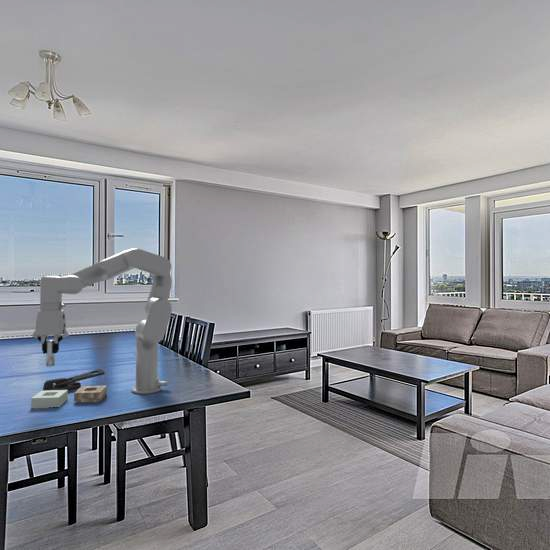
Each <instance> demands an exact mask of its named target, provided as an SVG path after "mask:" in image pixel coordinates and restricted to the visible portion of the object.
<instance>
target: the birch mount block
mask: <svg viewBox="0 0 550 550" xmlns="http://www.w3.org/2000/svg"><path fill="white" fill-rule="evenodd" d="M73 395H74V396H73V403H74V402H90V403H101V402H102V401H103V399H105V397H106V396H107V385H81V387H80V388H79V389H78V390H76V391H75V392H74V393H73ZM105 395H106V396H105ZM104 396H105V397H104ZM101 400H102V401H101ZM100 401H101V402H100Z"/></svg>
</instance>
